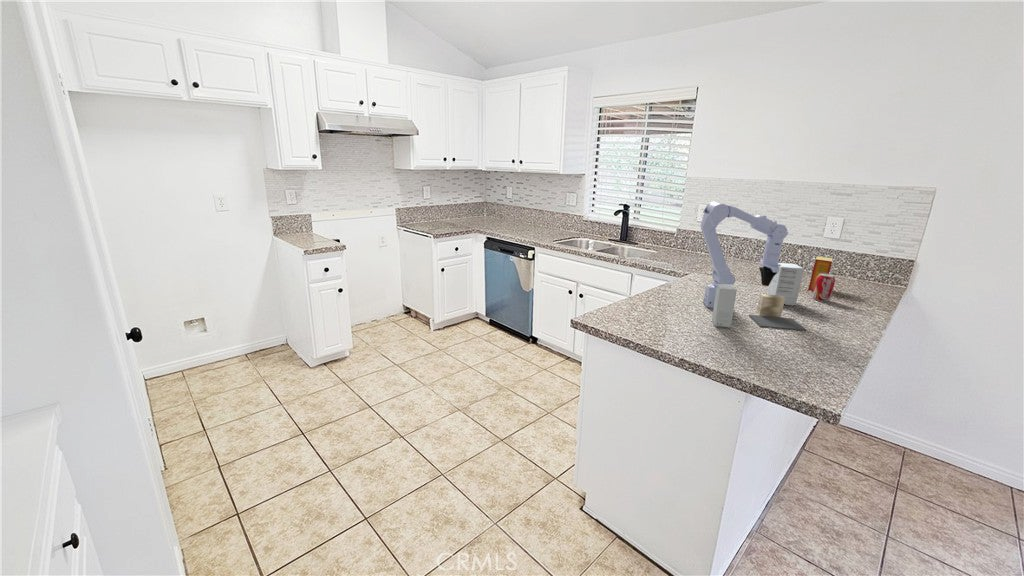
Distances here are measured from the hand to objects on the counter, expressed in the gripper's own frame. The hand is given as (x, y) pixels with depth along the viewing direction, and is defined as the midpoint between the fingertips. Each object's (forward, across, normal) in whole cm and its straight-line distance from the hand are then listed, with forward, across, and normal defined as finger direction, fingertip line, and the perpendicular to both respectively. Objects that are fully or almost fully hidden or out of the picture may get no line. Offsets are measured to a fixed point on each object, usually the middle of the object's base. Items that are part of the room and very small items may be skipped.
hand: (765, 285), depth 180 cm
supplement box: (+11, +13, -13) cm, 21 cm away
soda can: (+11, +21, -33) cm, 41 cm away
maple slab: (+10, -9, 0) cm, 14 cm away
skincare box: (+11, -23, +22) cm, 34 cm away
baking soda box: (+11, +40, -40) cm, 58 cm away
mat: (+10, -17, 0) cm, 20 cm away
